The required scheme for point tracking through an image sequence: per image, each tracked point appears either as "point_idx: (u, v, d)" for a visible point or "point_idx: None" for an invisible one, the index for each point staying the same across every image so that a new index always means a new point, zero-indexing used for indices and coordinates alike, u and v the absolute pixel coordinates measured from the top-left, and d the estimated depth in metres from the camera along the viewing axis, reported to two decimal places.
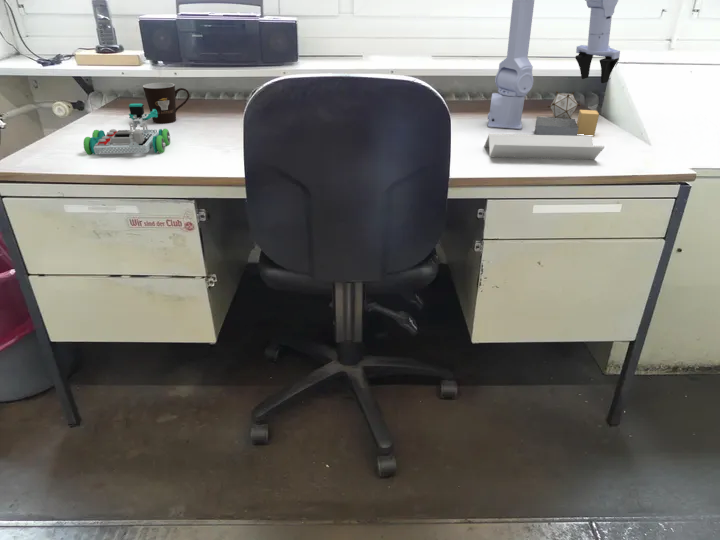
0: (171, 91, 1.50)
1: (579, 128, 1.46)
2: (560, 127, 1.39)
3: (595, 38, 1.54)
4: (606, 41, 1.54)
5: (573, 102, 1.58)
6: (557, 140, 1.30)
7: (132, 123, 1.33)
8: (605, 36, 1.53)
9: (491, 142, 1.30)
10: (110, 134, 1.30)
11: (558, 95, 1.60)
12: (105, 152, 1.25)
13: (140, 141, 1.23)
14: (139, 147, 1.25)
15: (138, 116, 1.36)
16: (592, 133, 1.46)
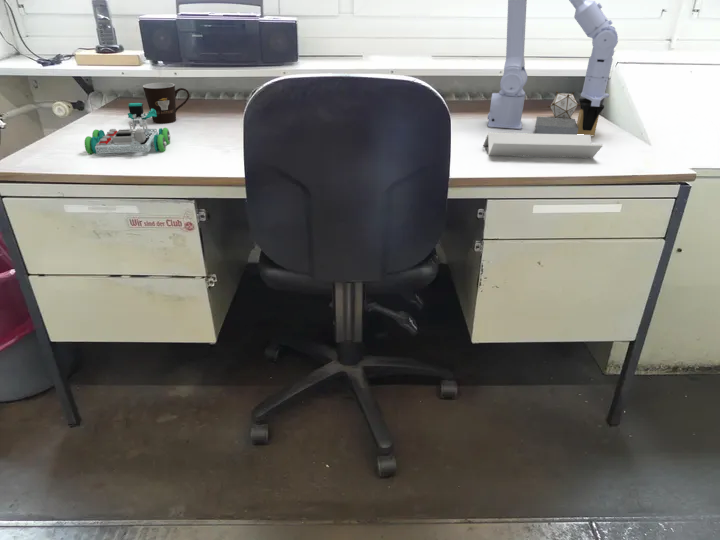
0: (171, 91, 1.50)
1: (579, 128, 1.46)
2: (560, 127, 1.39)
3: (586, 80, 1.41)
4: (597, 86, 1.40)
5: (573, 102, 1.58)
6: (556, 139, 1.31)
7: (132, 122, 1.34)
8: (596, 80, 1.39)
9: (490, 141, 1.31)
10: (110, 133, 1.30)
11: (558, 95, 1.60)
12: (107, 151, 1.25)
13: (142, 140, 1.24)
14: (141, 146, 1.26)
15: (137, 115, 1.36)
16: (592, 133, 1.46)
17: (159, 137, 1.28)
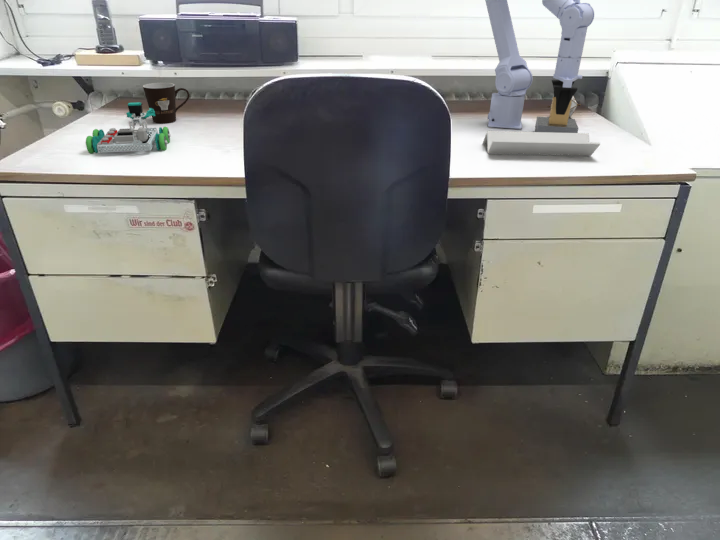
0: (171, 91, 1.50)
1: (551, 116, 1.41)
2: (560, 127, 1.39)
3: (558, 60, 1.35)
4: (569, 67, 1.34)
5: (573, 102, 1.58)
6: (554, 137, 1.32)
7: (132, 122, 1.35)
8: (568, 60, 1.33)
9: (489, 139, 1.32)
10: (111, 133, 1.31)
11: None
12: (108, 150, 1.26)
13: (144, 139, 1.25)
14: (143, 145, 1.26)
15: (137, 115, 1.37)
16: (565, 121, 1.40)
17: (160, 136, 1.29)
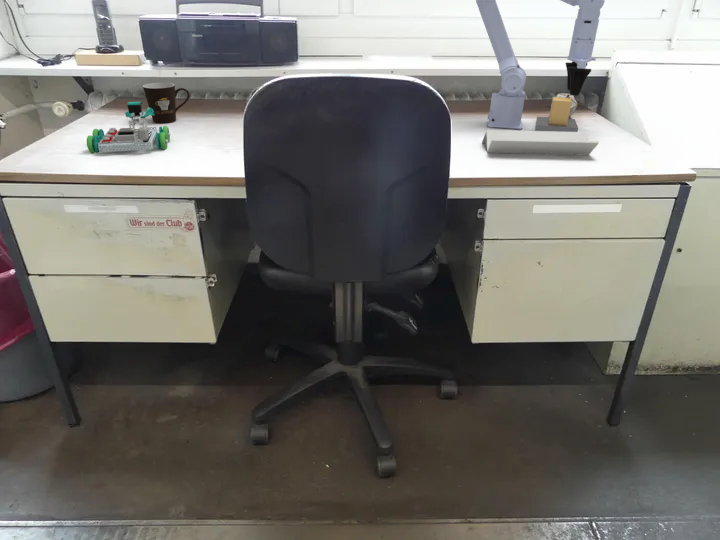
0: (171, 91, 1.50)
1: (551, 116, 1.41)
2: (560, 127, 1.39)
3: (572, 42, 1.39)
4: (583, 49, 1.38)
5: (573, 102, 1.58)
6: (553, 136, 1.33)
7: (131, 121, 1.35)
8: (582, 42, 1.38)
9: (488, 138, 1.33)
10: (111, 132, 1.31)
11: (558, 95, 1.60)
12: (110, 150, 1.26)
13: (145, 138, 1.26)
14: (144, 144, 1.27)
15: (136, 114, 1.37)
16: (565, 121, 1.40)
17: (161, 135, 1.29)
